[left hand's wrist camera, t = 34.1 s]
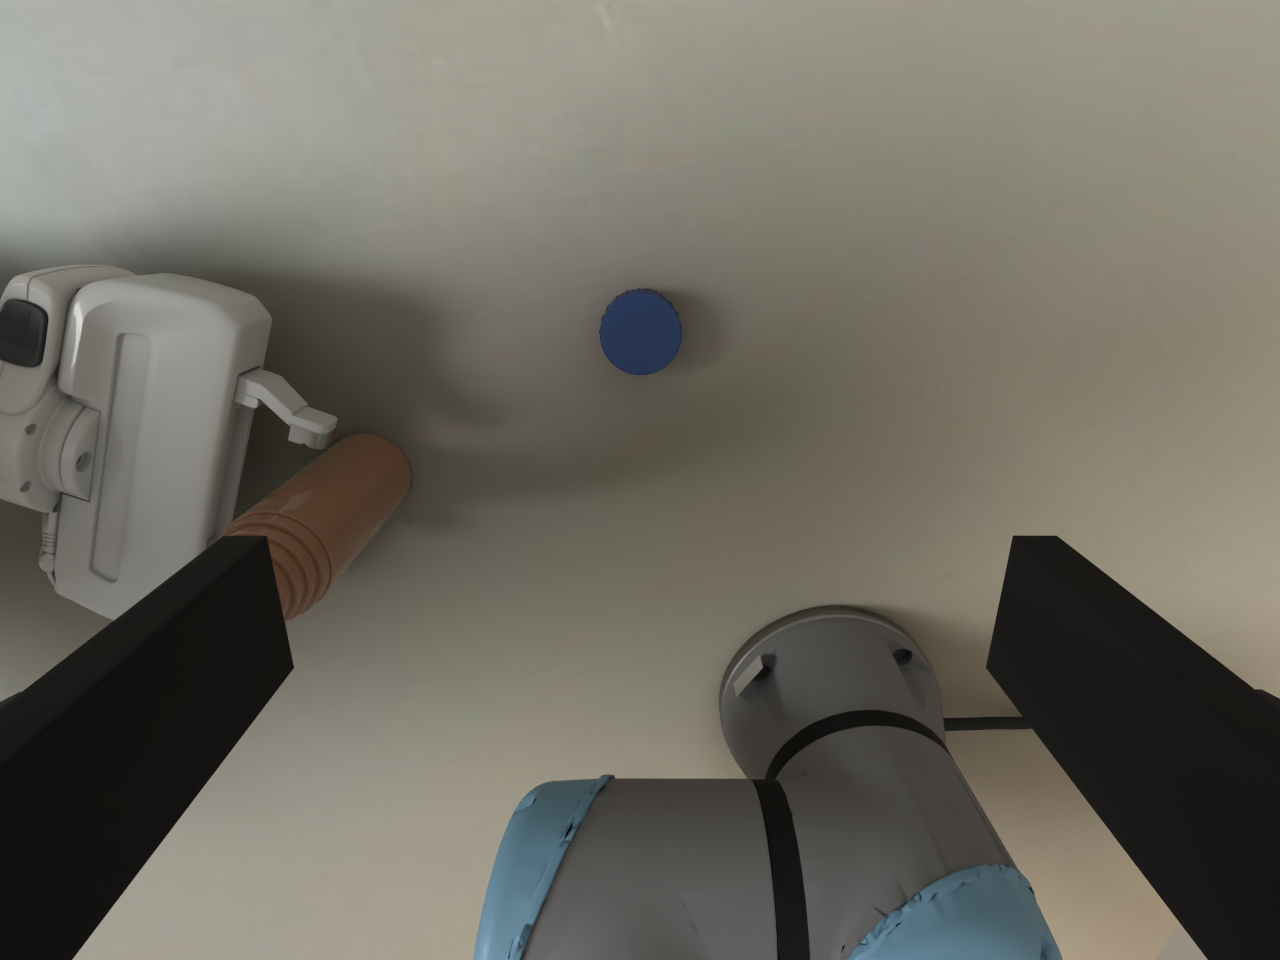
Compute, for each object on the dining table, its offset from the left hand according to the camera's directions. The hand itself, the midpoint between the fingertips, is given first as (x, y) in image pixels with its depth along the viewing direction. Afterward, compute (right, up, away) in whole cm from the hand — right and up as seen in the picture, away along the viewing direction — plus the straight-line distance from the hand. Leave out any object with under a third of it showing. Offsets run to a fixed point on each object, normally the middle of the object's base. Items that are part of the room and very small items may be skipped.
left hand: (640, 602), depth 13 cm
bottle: (-17, +3, +33) cm, 37 cm away
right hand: (-18, +1, +27) cm, 32 cm away
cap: (0, +10, +27) cm, 29 cm away
